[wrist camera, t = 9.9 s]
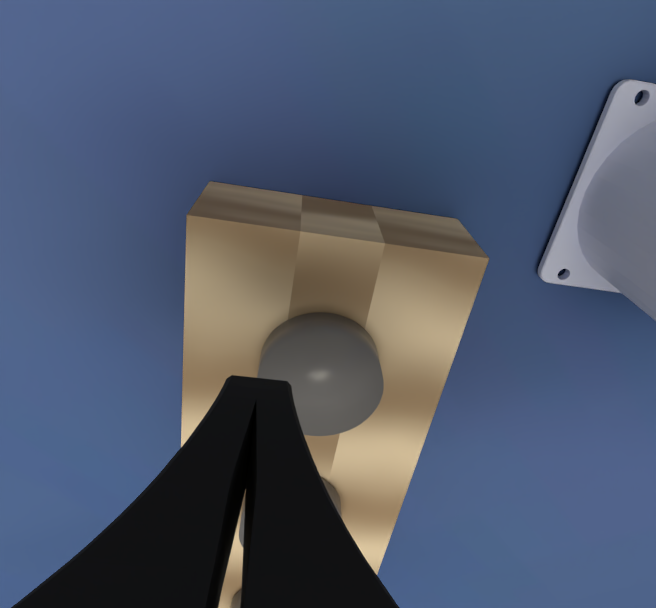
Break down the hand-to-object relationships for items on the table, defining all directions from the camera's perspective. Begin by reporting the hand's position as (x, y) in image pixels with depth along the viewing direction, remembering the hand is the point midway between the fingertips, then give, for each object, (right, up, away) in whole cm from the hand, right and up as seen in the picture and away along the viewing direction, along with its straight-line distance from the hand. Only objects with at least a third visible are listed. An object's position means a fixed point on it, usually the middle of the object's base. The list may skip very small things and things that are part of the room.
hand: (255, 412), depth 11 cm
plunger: (+1, +2, +11) cm, 11 cm away
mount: (0, -5, +15) cm, 15 cm away
